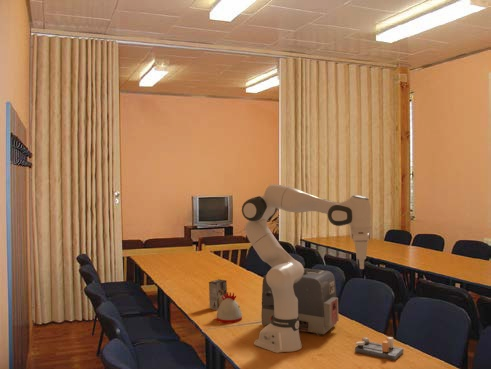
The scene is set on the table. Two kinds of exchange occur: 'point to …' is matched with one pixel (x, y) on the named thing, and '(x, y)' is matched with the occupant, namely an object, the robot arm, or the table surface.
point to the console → (379, 351)
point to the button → (366, 340)
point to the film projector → (308, 301)
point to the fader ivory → (390, 341)
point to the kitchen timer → (229, 310)
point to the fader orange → (385, 346)
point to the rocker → (360, 343)
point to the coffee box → (217, 293)
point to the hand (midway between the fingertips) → (362, 266)
